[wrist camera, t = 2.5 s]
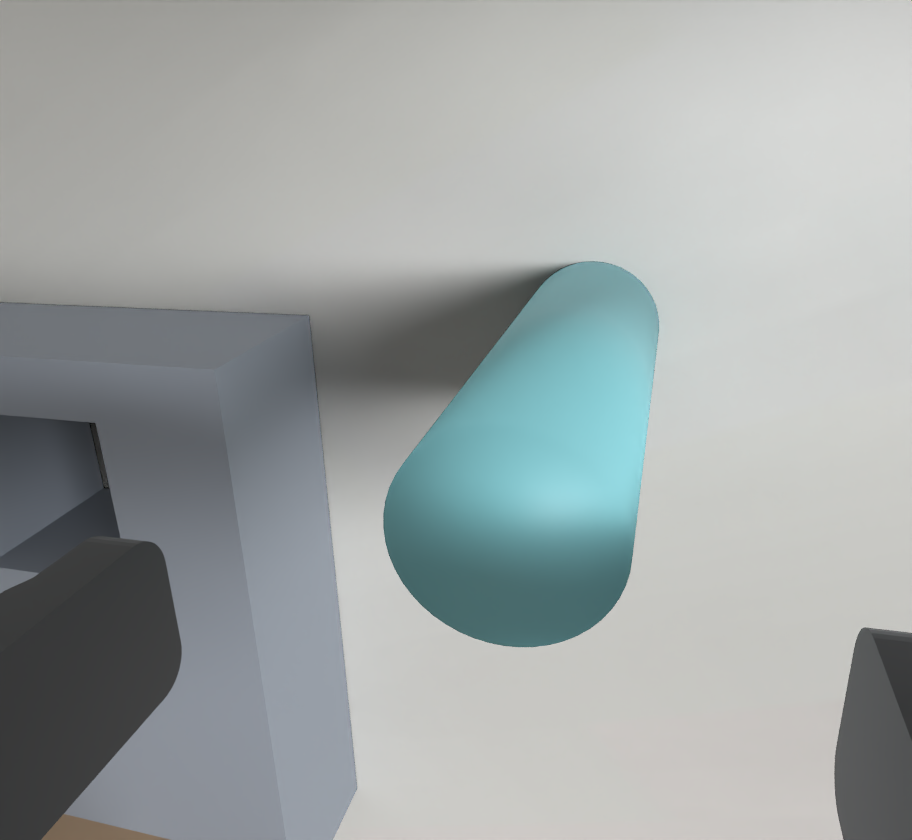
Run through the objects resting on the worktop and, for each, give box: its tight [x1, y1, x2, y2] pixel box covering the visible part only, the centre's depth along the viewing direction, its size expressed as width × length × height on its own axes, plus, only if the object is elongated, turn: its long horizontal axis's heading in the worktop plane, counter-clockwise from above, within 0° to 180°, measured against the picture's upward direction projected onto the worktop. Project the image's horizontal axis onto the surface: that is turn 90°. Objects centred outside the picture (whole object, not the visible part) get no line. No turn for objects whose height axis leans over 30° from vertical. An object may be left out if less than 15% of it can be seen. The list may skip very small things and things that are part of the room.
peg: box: [384, 261, 659, 647], centre depth 15 cm, size 3×3×11 cm
